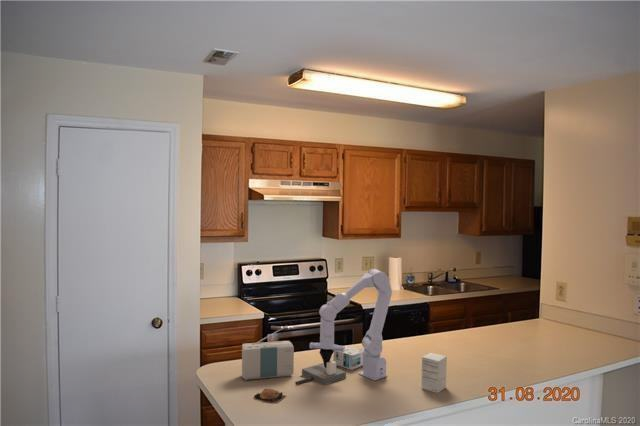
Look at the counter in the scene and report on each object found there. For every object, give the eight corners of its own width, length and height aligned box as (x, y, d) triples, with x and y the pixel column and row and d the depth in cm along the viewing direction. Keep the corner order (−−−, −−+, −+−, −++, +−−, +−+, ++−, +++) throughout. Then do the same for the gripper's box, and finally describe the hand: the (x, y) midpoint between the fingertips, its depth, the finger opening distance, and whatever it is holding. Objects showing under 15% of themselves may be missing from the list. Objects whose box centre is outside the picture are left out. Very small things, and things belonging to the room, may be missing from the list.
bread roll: (288, 397, 182) (288, 387, 182) (276, 406, 174) (276, 396, 174) (263, 392, 187) (264, 382, 186) (251, 400, 179) (251, 390, 179)
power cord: (312, 380, 197) (312, 377, 197) (297, 385, 192) (297, 382, 192) (311, 379, 198) (311, 376, 198) (295, 384, 193) (295, 381, 193)
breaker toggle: (336, 373, 199) (336, 362, 198) (329, 375, 196) (329, 364, 196) (332, 371, 200) (333, 360, 200) (326, 373, 198) (326, 362, 198)
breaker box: (345, 378, 200) (345, 372, 200) (323, 385, 193) (323, 378, 193) (323, 368, 211) (323, 362, 211) (301, 374, 203) (301, 368, 203)
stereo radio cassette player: (242, 382, 195) (243, 332, 194) (240, 374, 203) (241, 327, 202) (293, 377, 200) (294, 329, 200) (289, 370, 208) (290, 324, 208)
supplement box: (429, 383, 196) (430, 352, 196) (446, 387, 192) (447, 356, 191) (420, 388, 191) (421, 356, 190) (438, 393, 186) (439, 360, 186)
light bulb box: (332, 364, 216) (351, 370, 209) (333, 349, 216) (352, 355, 209) (347, 358, 224) (366, 364, 217) (347, 344, 224) (367, 349, 217)
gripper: (346, 333, 201) (346, 366, 202) (313, 330, 206) (313, 361, 206) (342, 338, 195) (341, 371, 195) (308, 334, 199) (307, 367, 200)
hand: (326, 367), depth 200 cm, fingers closed
